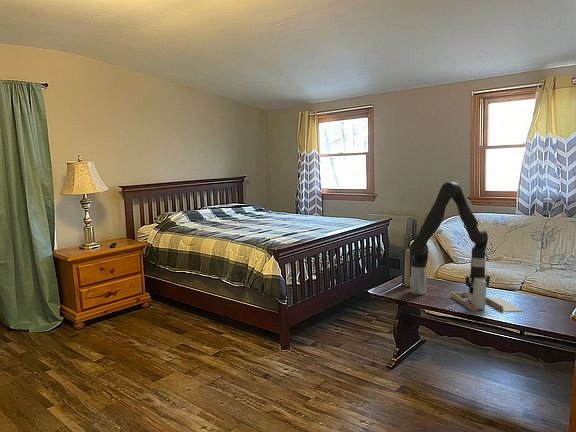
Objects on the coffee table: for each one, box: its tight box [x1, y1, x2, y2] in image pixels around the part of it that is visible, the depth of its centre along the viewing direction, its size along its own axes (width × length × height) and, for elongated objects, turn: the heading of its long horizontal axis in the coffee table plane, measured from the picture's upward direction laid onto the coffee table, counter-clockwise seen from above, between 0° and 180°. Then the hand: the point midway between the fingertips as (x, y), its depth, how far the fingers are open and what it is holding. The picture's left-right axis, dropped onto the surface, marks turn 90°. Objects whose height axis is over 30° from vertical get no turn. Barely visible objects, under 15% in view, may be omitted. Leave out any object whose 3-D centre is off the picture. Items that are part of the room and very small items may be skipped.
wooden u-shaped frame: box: [450, 290, 504, 314], centre depth 254 cm, size 16×29×3 cm, turn 4°
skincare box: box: [467, 272, 487, 310], centre depth 251 cm, size 21×5×16 cm, turn 169°
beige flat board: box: [489, 296, 524, 313], centre depth 251 cm, size 10×24×1 cm, turn 4°
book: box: [401, 247, 414, 287], centre depth 297 cm, size 22×7×25 cm, turn 134°
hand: (476, 293), depth 252 cm, fingers closed on skincare box, 6 cm apart
